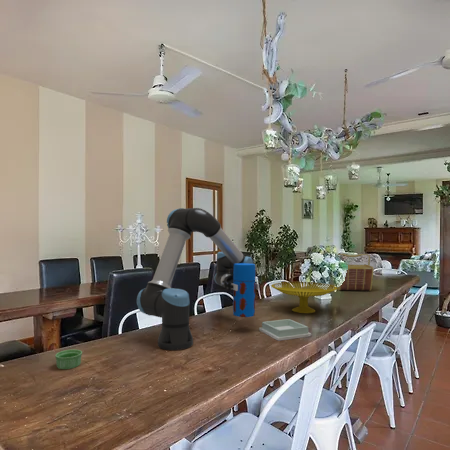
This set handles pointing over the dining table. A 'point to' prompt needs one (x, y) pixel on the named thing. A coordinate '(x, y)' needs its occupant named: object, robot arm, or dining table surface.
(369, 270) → the picnic basket
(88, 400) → the dining table surface
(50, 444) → the dining table surface
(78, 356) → the ramekin
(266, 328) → the holder
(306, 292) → the yellow pedestal fruit bowl
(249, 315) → the leaf-print tea canister
